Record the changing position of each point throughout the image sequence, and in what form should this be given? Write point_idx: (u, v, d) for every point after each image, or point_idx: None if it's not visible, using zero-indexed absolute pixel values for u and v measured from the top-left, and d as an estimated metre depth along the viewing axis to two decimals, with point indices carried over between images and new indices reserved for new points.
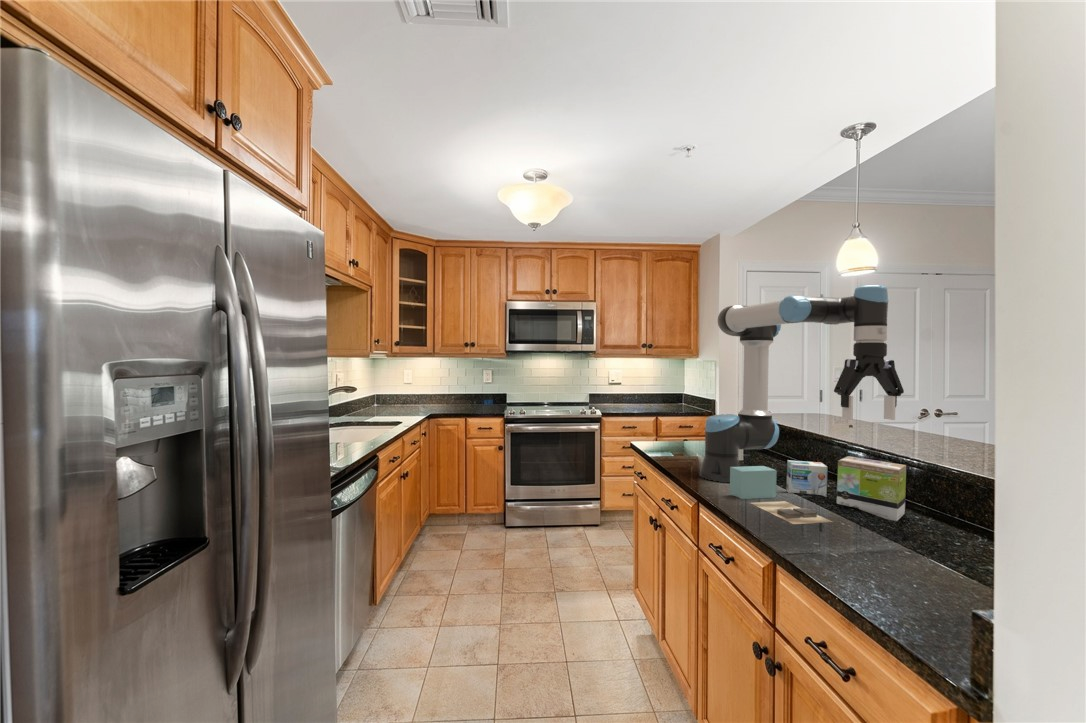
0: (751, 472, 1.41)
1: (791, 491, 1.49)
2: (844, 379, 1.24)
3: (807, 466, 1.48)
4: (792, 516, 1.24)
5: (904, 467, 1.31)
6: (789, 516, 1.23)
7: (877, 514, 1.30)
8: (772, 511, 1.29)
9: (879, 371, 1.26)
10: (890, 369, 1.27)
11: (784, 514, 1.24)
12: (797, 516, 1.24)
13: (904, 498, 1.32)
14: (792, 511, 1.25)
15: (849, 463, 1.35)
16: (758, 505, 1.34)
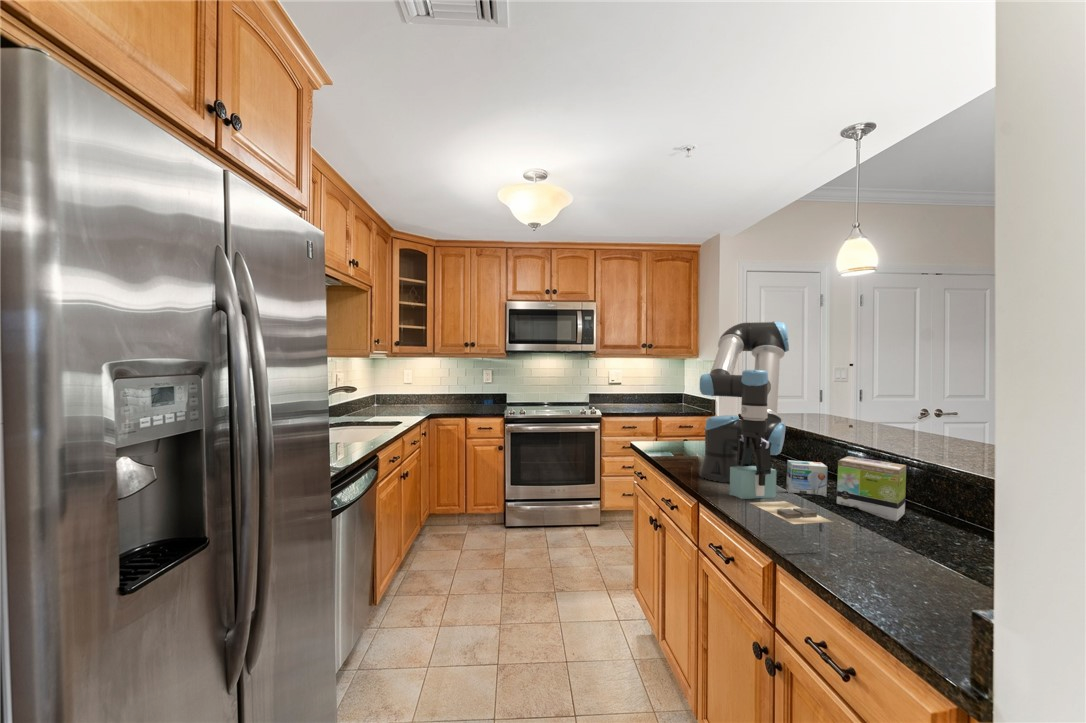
0: (751, 472, 1.41)
1: (791, 491, 1.49)
2: None
3: (807, 466, 1.48)
4: (792, 516, 1.24)
5: (904, 467, 1.31)
6: (789, 516, 1.23)
7: (877, 514, 1.30)
8: (772, 511, 1.29)
9: None
10: None
11: (784, 514, 1.24)
12: (797, 516, 1.24)
13: (904, 498, 1.32)
14: (792, 511, 1.25)
15: (849, 463, 1.35)
16: (758, 505, 1.34)
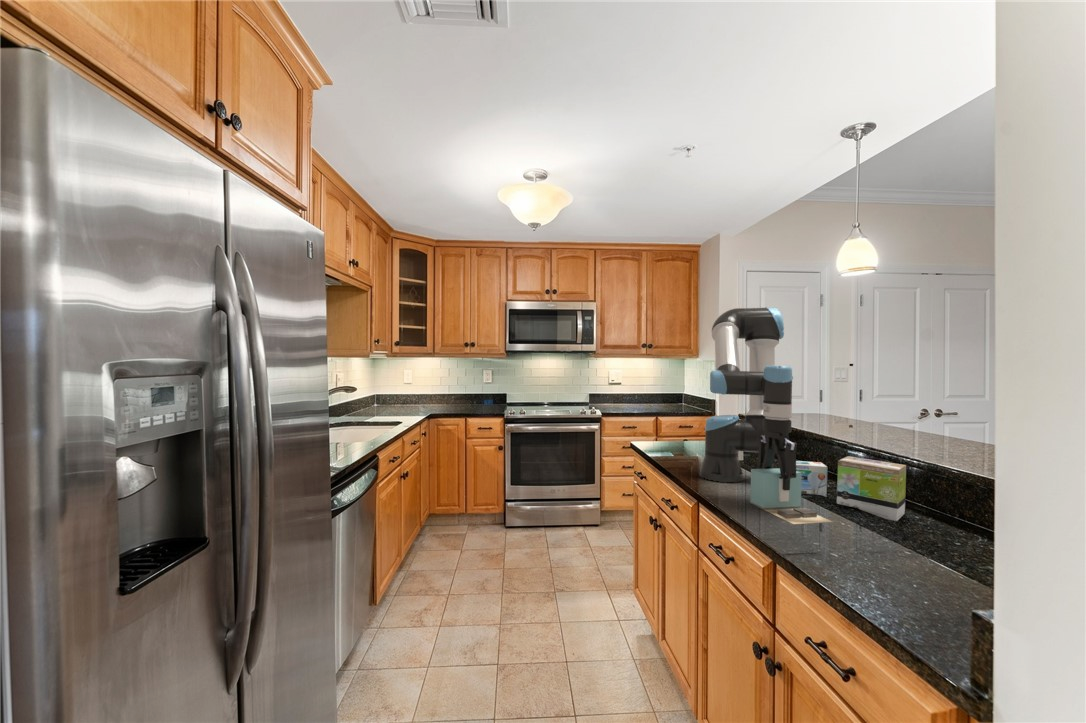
0: (774, 475, 1.31)
1: None
2: None
3: (807, 466, 1.48)
4: (792, 516, 1.24)
5: (904, 467, 1.31)
6: (789, 516, 1.23)
7: (877, 514, 1.30)
8: (772, 511, 1.29)
9: None
10: None
11: (784, 514, 1.24)
12: (797, 516, 1.24)
13: (904, 498, 1.32)
14: (792, 511, 1.25)
15: (849, 463, 1.35)
16: None
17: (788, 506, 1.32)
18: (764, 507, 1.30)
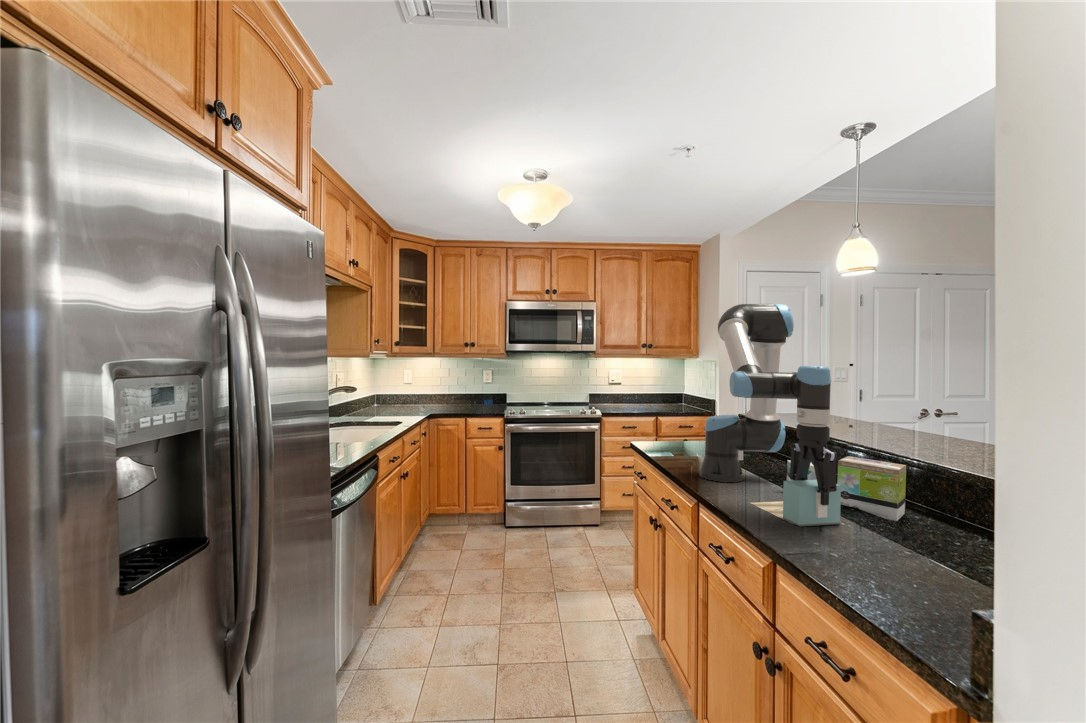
0: (811, 488, 1.17)
1: None
2: None
3: None
4: None
5: (904, 467, 1.31)
6: None
7: (877, 514, 1.30)
8: (772, 511, 1.29)
9: None
10: None
11: None
12: None
13: (904, 498, 1.32)
14: None
15: (849, 463, 1.35)
16: (758, 505, 1.34)
17: (826, 522, 1.18)
18: (800, 524, 1.17)
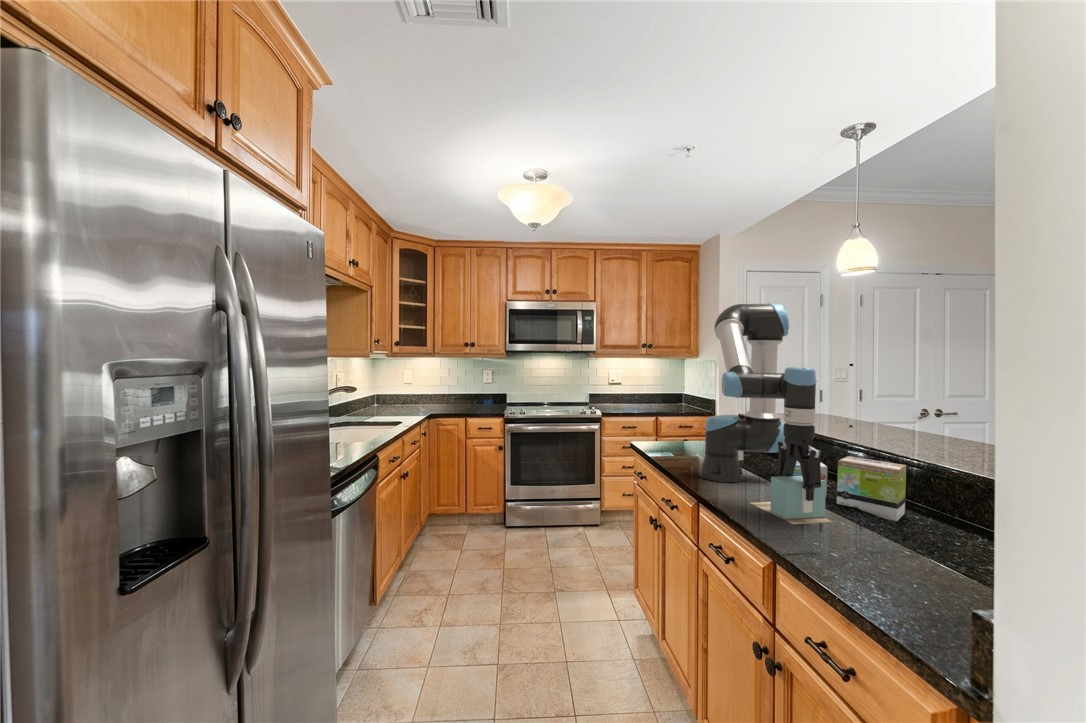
0: (797, 483, 1.23)
1: None
2: None
3: None
4: None
5: (904, 467, 1.31)
6: None
7: (877, 514, 1.30)
8: None
9: None
10: None
11: None
12: None
13: (904, 498, 1.32)
14: None
15: (849, 463, 1.35)
16: (758, 505, 1.34)
17: (811, 516, 1.23)
18: (786, 518, 1.22)
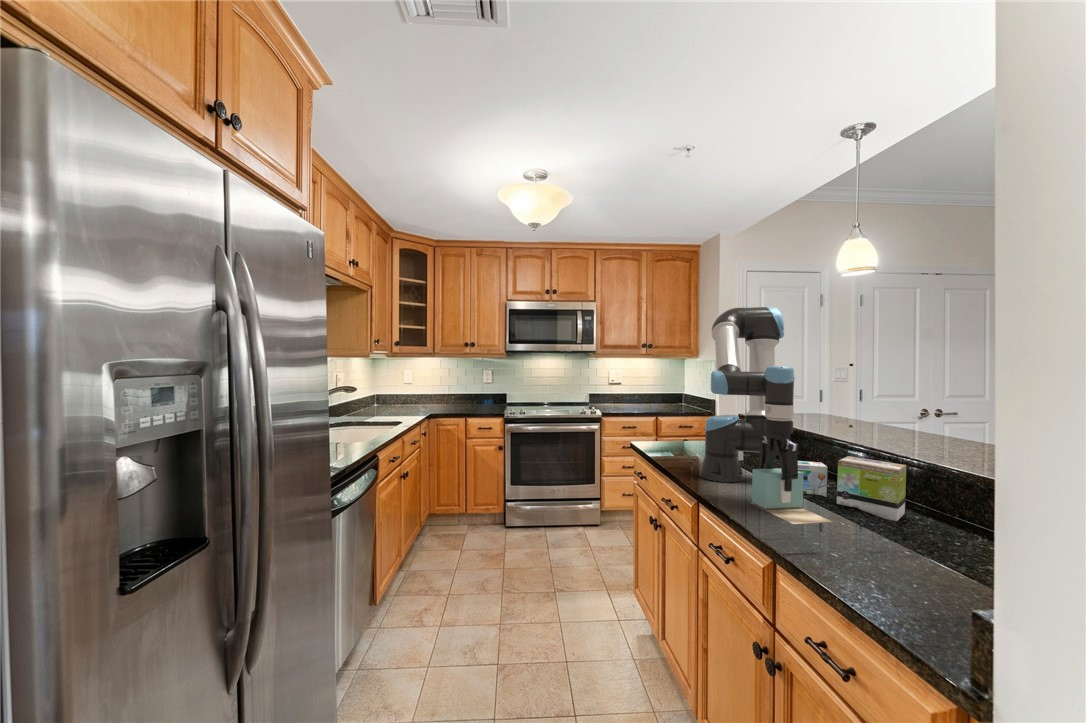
0: (776, 475, 1.30)
1: None
2: None
3: (807, 466, 1.48)
4: None
5: (904, 467, 1.31)
6: None
7: (877, 514, 1.30)
8: (772, 511, 1.29)
9: None
10: None
11: None
12: None
13: (904, 498, 1.32)
14: None
15: (849, 463, 1.35)
16: None
17: (790, 506, 1.31)
18: (766, 507, 1.30)
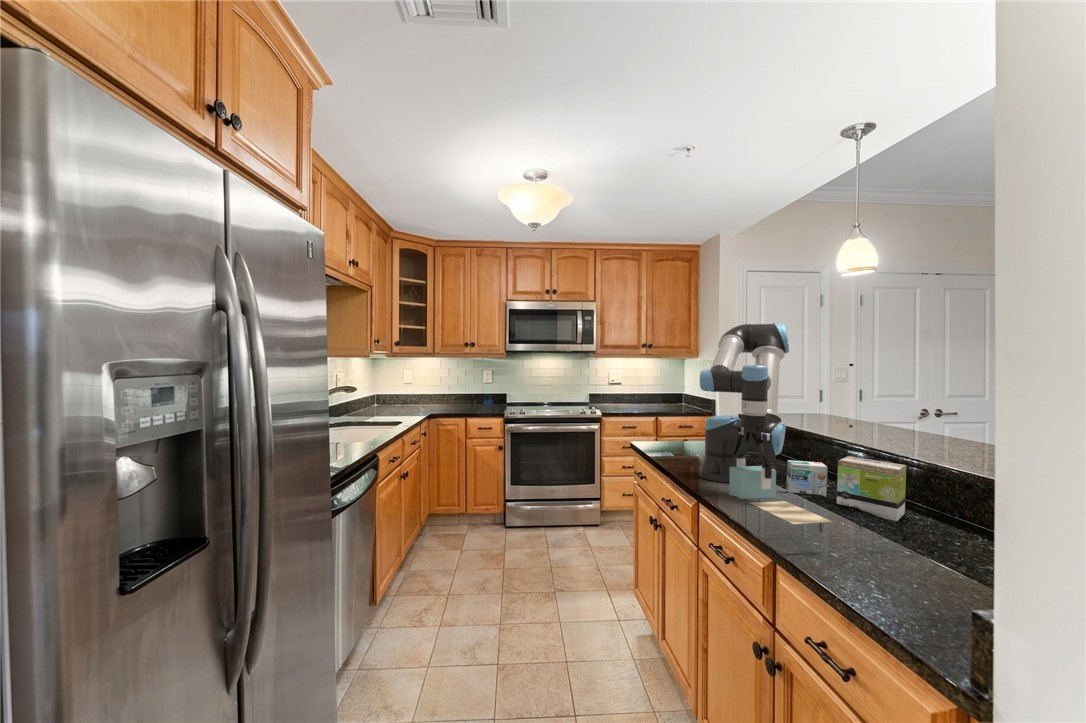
0: (750, 472, 1.41)
1: (791, 491, 1.49)
2: None
3: (807, 466, 1.48)
4: None
5: (904, 467, 1.31)
6: None
7: (877, 514, 1.30)
8: (772, 511, 1.29)
9: None
10: None
11: None
12: None
13: (904, 498, 1.32)
14: None
15: (849, 463, 1.35)
16: (758, 505, 1.34)
17: None
18: None
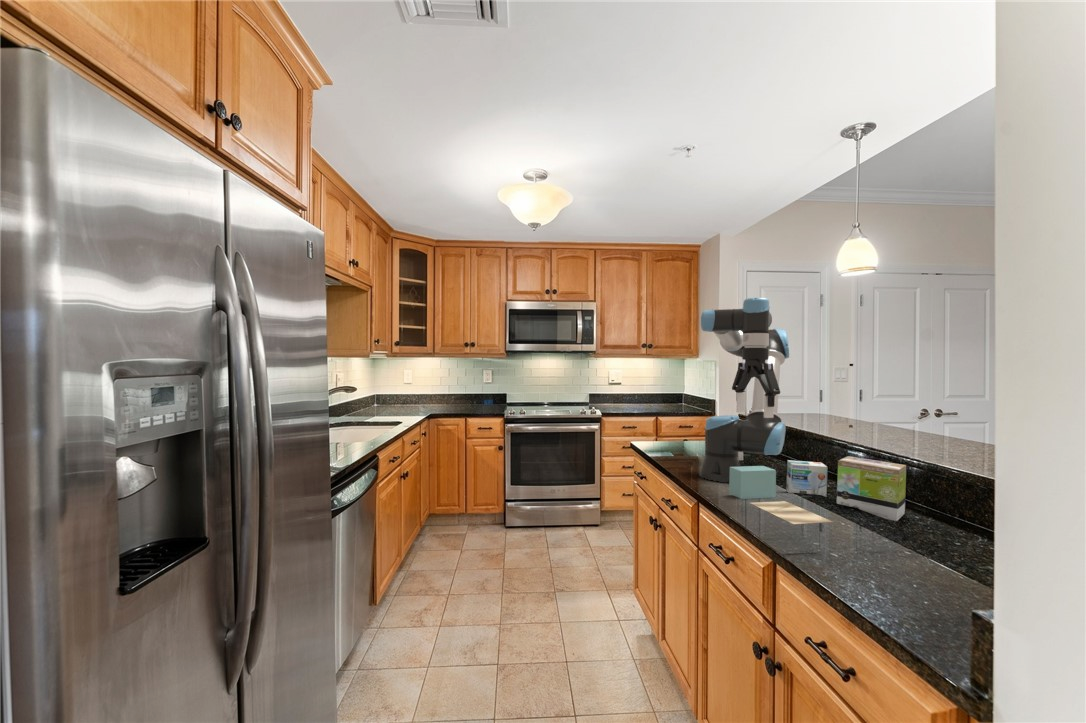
0: (750, 472, 1.41)
1: (791, 491, 1.49)
2: None
3: (807, 466, 1.48)
4: None
5: (904, 467, 1.31)
6: None
7: (877, 514, 1.30)
8: (772, 511, 1.29)
9: None
10: None
11: None
12: None
13: (904, 498, 1.32)
14: None
15: (849, 463, 1.35)
16: (758, 505, 1.34)
17: None
18: None
